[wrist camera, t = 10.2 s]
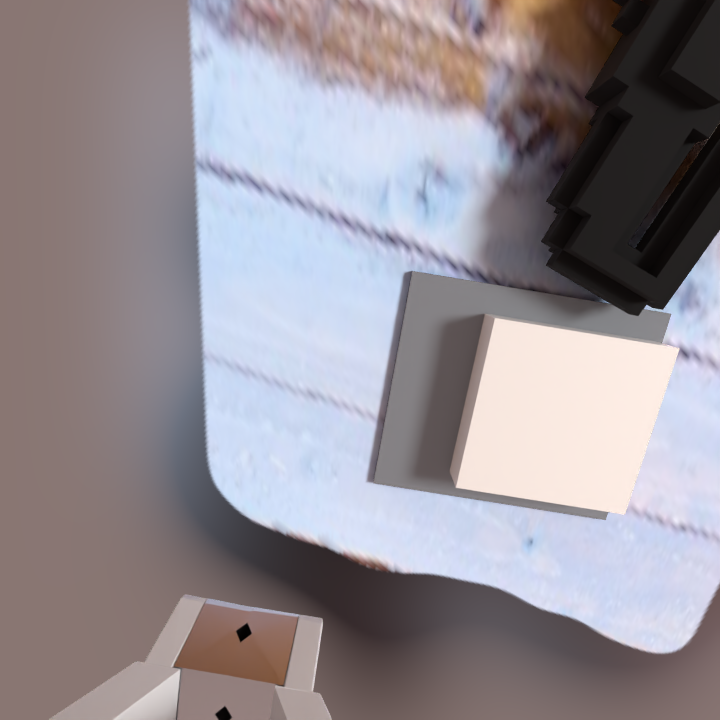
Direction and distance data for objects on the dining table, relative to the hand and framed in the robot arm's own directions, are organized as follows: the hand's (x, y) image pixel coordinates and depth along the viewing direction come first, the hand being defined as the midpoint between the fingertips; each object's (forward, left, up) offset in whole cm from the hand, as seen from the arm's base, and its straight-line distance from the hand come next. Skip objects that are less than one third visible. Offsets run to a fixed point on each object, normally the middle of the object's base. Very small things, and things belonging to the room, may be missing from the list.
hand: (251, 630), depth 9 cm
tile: (-5, +8, -22) cm, 24 cm away
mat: (-6, +12, -23) cm, 27 cm away
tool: (-24, +4, -24) cm, 34 cm away
